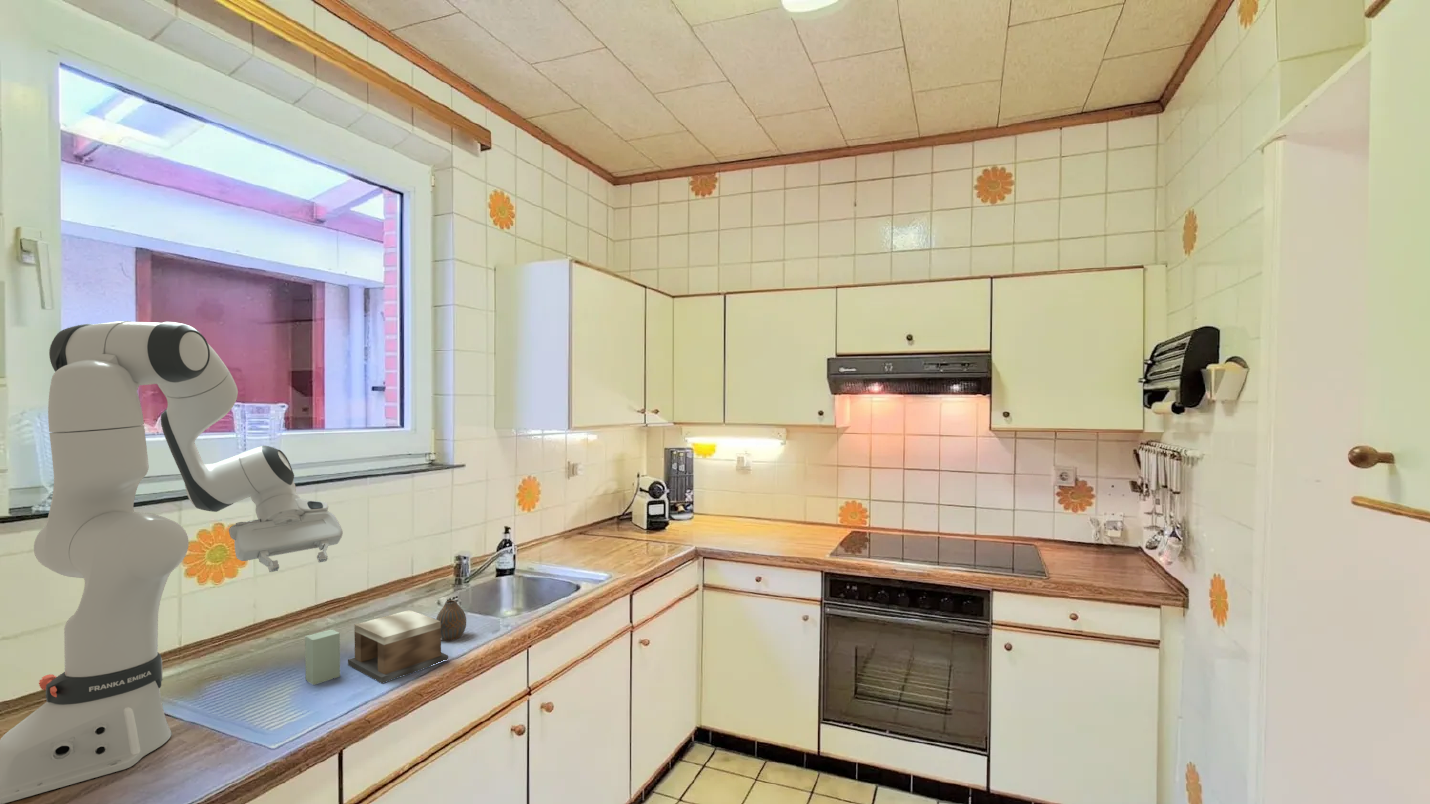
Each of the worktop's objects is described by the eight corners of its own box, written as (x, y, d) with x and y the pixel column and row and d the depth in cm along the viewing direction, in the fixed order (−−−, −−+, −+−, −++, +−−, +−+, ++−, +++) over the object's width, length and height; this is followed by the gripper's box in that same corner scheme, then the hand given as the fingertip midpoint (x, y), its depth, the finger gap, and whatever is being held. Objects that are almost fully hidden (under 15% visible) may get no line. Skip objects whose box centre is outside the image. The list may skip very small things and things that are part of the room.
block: (313, 685, 126) (312, 640, 127) (305, 680, 129) (305, 636, 129) (340, 676, 130) (339, 633, 131) (332, 672, 133) (331, 629, 133)
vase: (457, 630, 157) (457, 595, 157) (472, 636, 152) (471, 600, 152) (430, 639, 151) (429, 602, 151) (444, 645, 147) (444, 607, 147)
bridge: (381, 683, 126) (381, 640, 127) (348, 665, 136) (347, 624, 136) (447, 660, 137) (447, 620, 138) (412, 645, 147) (411, 608, 147)
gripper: (229, 515, 134) (245, 567, 128) (334, 501, 150) (352, 547, 144) (223, 533, 137) (239, 585, 131) (327, 518, 153) (345, 563, 147)
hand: (299, 565), depth 138 cm, fingers open, 8 cm apart
